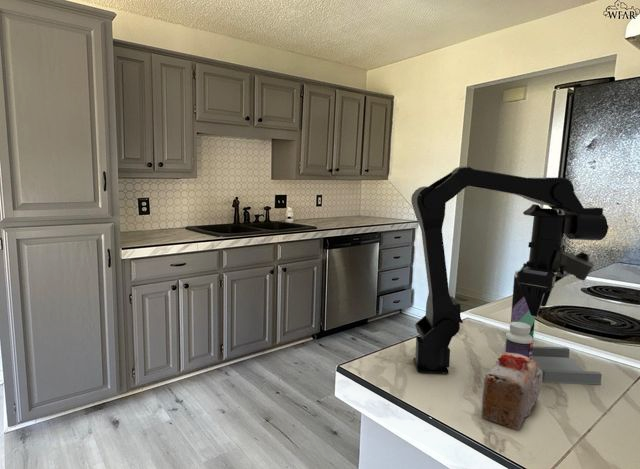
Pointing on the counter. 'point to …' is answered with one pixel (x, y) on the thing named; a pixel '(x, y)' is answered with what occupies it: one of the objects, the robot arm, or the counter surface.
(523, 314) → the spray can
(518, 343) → the pill bottle
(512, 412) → the food item
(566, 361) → the tray
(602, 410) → the counter surface
